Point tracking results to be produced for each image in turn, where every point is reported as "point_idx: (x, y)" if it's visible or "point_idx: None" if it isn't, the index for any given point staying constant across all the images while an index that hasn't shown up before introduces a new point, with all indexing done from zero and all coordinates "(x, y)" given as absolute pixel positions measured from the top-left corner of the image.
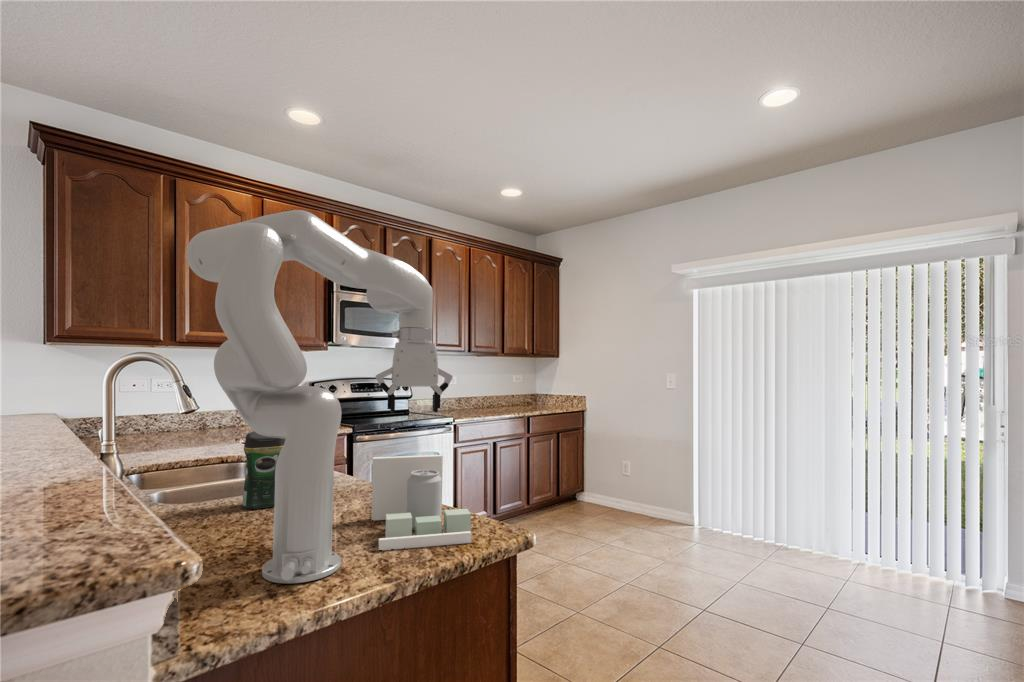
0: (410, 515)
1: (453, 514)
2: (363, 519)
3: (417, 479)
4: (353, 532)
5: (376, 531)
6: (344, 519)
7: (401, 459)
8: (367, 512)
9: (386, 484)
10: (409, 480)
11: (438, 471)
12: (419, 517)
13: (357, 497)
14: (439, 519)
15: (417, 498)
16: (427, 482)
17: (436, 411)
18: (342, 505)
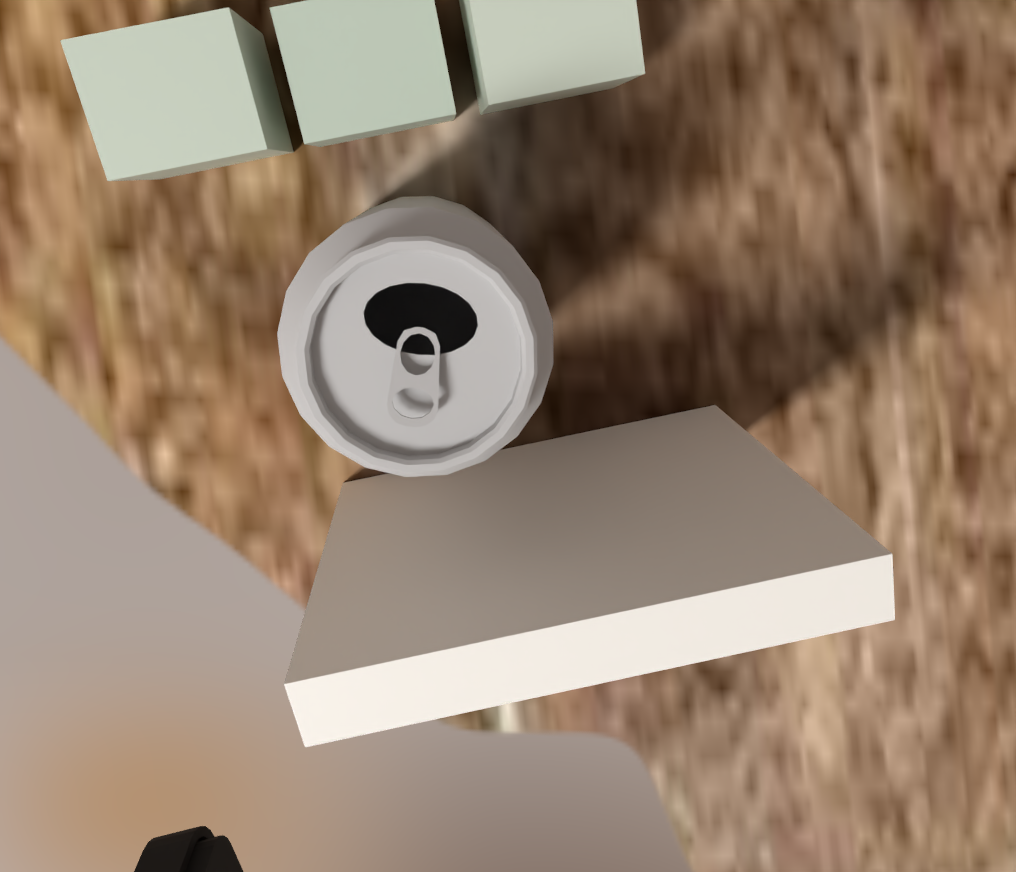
0: (480, 26)
1: (185, 29)
2: (759, 429)
3: (465, 242)
4: (789, 206)
5: (671, 217)
6: (855, 432)
7: (647, 598)
8: None
9: (702, 491)
10: (533, 282)
11: (336, 604)
12: (428, 103)
13: (823, 799)
14: (290, 47)
15: (456, 209)
16: (378, 213)
17: (178, 835)
18: (885, 666)
